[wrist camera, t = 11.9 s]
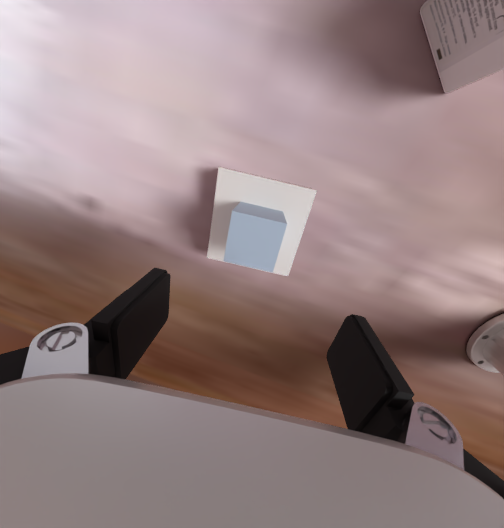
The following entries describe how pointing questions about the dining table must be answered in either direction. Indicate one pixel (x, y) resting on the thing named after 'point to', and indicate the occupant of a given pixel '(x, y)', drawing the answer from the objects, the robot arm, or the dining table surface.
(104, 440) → the robot arm
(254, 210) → the blue block
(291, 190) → the base tile
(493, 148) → the dining table surface
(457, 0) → the container
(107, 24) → the dining table surface
